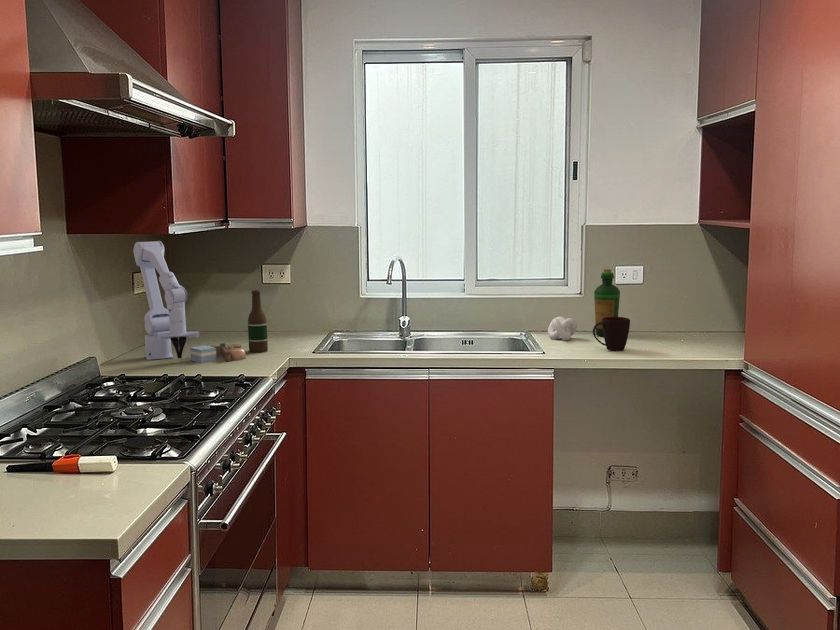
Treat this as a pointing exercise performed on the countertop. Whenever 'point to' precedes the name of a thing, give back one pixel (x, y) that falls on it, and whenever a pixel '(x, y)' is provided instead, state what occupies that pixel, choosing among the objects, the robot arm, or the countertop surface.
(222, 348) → the display stand
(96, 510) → the countertop surface
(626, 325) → the cup
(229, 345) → the maple block
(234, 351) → the pink rounded block
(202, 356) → the carton
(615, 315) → the bottle
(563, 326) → the white lumpy piece
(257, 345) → the beer bottle
